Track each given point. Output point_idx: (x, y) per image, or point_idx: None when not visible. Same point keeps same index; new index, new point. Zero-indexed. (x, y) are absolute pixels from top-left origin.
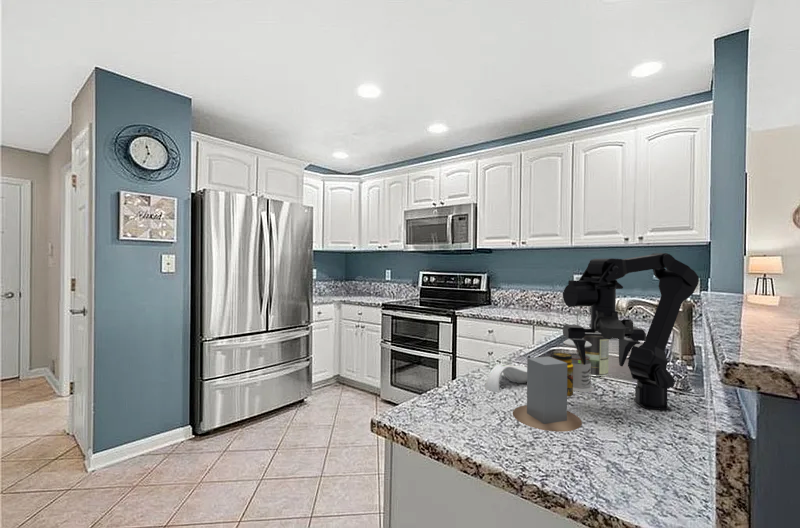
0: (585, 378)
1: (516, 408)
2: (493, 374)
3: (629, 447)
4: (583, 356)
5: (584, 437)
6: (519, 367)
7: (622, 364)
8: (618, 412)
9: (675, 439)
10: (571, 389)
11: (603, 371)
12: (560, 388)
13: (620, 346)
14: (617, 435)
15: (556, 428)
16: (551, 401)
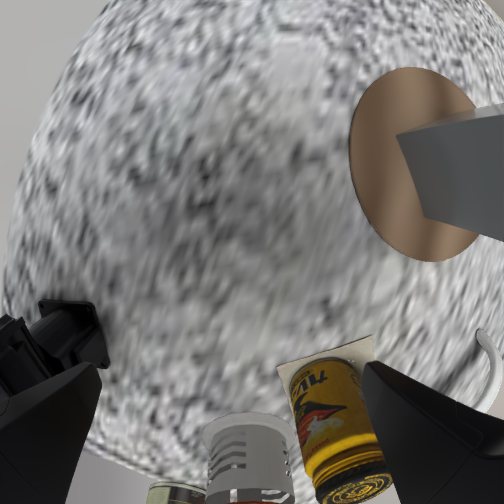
0: (232, 449)
1: None
2: (500, 370)
3: (257, 5)
4: (418, 391)
5: (362, 48)
6: None
7: (80, 366)
8: (180, 261)
9: (101, 80)
10: (306, 384)
11: (159, 491)
12: (487, 112)
13: (46, 494)
14: (261, 61)
15: (427, 84)
16: (477, 110)
